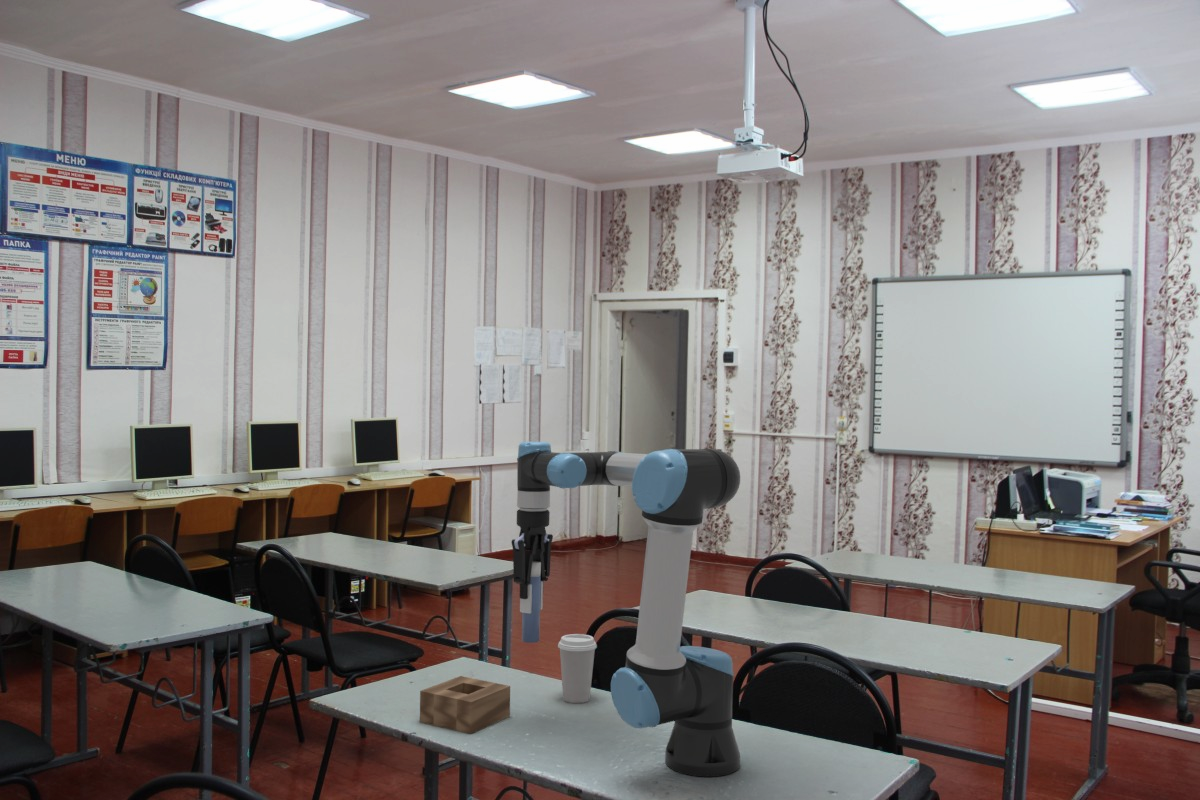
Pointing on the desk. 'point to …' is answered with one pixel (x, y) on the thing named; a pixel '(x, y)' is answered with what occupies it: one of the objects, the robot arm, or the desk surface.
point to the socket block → (465, 704)
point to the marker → (533, 608)
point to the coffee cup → (576, 666)
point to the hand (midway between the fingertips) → (531, 610)
